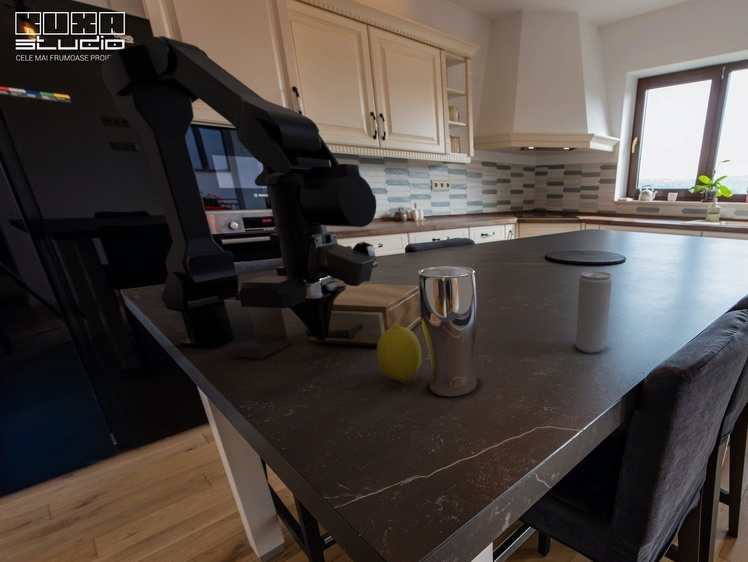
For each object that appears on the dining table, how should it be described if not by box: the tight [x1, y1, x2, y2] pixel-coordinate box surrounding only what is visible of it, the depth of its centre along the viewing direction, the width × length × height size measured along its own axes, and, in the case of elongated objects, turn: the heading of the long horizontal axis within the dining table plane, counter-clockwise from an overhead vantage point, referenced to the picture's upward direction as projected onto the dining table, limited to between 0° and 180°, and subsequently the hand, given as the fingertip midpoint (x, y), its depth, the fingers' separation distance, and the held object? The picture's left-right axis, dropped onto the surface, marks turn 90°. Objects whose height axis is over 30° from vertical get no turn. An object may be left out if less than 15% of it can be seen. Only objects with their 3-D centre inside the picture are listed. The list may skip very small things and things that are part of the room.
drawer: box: [305, 309, 385, 343], centre depth 67 cm, size 18×13×5 cm
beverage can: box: [575, 270, 613, 354], centre depth 61 cm, size 5×5×12 cm
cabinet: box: [312, 283, 421, 347], centre depth 71 cm, size 15×14×7 cm
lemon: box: [376, 325, 422, 383], centre depth 51 cm, size 6×6×8 cm
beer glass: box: [417, 265, 479, 398], centre depth 49 cm, size 7×7×15 cm
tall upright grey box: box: [224, 293, 290, 360], centre depth 61 cm, size 4×6×10 cm, turn 171°
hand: (322, 339), depth 56 cm, fingers closed
